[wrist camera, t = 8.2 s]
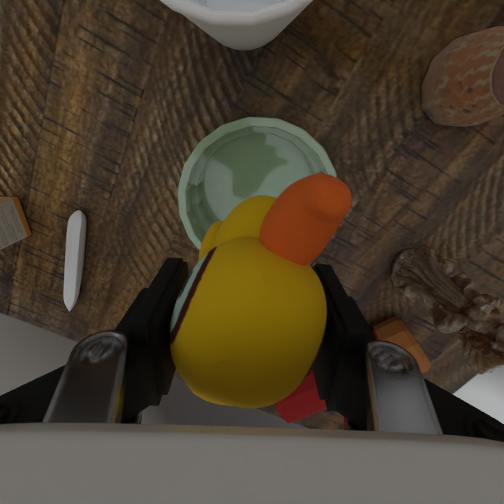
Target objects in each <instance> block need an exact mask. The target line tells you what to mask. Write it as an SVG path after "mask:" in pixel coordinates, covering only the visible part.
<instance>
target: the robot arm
mask: <svg viewBox="0 0 504 504" xmlns="http://www.w3.org/2000/svg"><path fill="white" fill-rule="evenodd" d="M311 268H312V269H313V270H314V271H315V273H316V274H317V276H318V278H319V280H320V282H321V284H322V287H323V290H324V293H325V298H326V305H327V322H326V330H325V335H324V339H323V343H322V346H321V349H320V352H319V354H318V357H317V359H316V361H315V363H314V365H313V367H312V370H313V374H314V378H315V383H316V387H317V391H318V395H319V398H320V400H325V403H326V407H327V411H337V412H339V413H340V414H341V415H342V416H344V430H326V429H296V428H265V427H264V428H263V427H230V426H198V425H158V424H141V418H142V410H144V409H145V408H147V407H148V406H150V405H154V406H158V405H159V403H160V401H161V397H162V395H167V394H168V391H169V388H170V385H171V382H172V379H173V376H174V373H175V369H176V367H175V364H174V362H173V359H172V355H171V350H170V340H169V335H170V324H171V318H172V314H173V310H174V307H175V304H176V301H177V299H178V296H179V294H180V292H181V290H182V288H183V286H184V284H185V282H186V280H187V278H188V264H187V262H183V259H182V258H167V259H166V261H165V262H164V264H163V266H162V267H161V269H160V270H159V272H158V274H157V275H156V277H155V278H154V280H153V281H152V283H151V285H150V286H149V288H143V289H142V290H141V291H140V293H139V294H138V296H137V297H136V299H135V300H134V302H133V303H132V305H131V306H130V308H129V309H128V311H127V312H126V314H125V315H124V317H123V318H122V320H121V321H120V323H119V324H118V326H117V327H116V329H115V330H105V331H100V332H96V333H94V334H91V335H89V336H87V337H86V338H84V339H82V340H81V341H80V342H79V343H78V344H77V345H76V346H75V347H74V349H73V350H72V352H71V354H70V356H69V359H68V361H67V364H66V365H65V366H62V367H60V368H58V369H56V370H54V371H52V372H50V373H48V374H45V375H43V376H41V377H39V378H37V379H35V380H33V381H31V382H28V383H26V384H24V385H22V386H20V387H18V388H16V389H14V390H11V391H10V392H7V393H5V394H3V395H1V396H0V504H504V424H502V423H501V422H499V421H498V420H496V419H495V418H493V417H491V416H489V415H488V414H486V413H484V412H482V411H480V410H479V409H477V408H475V407H473V406H472V405H470V404H468V403H466V402H464V401H463V400H461V399H459V398H458V397H456V396H454V395H452V394H451V393H449V392H447V391H445V390H444V389H442V388H440V387H438V386H437V385H435V384H433V383H431V382H430V381H428V380H426V379H424V378H423V376H422V373H421V370H420V367H419V364H418V363H417V361H416V359H415V358H414V357H413V355H412V354H411V353H410V352H408V351H407V350H406V349H404V348H403V347H401V346H399V345H397V344H395V343H392V342H389V341H383V340H377V339H376V337H375V335H374V334H373V332H372V330H371V329H370V327H369V325H368V323H367V322H366V320H365V318H364V316H363V315H362V313H361V311H360V310H359V308H358V306H357V304H356V303H355V301H354V299H353V298H352V297H350V296H347V294H346V292H345V290H344V288H343V287H342V285H341V283H340V281H339V279H338V278H337V276H336V274H335V272H334V271H333V269H332V267H331V265H326V264H316V265H315V267H311Z"/></svg>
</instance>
